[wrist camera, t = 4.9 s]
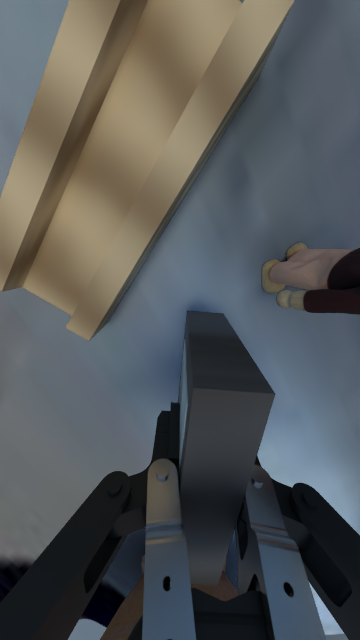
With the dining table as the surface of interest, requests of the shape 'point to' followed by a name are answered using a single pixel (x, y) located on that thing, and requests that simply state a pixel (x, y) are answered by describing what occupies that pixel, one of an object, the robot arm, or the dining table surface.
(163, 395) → the dining table surface
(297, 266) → the grandmother figurine
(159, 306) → the dining table surface
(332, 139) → the dining table surface
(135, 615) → the jug
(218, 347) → the dark grey block
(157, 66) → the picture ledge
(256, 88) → the dining table surface
